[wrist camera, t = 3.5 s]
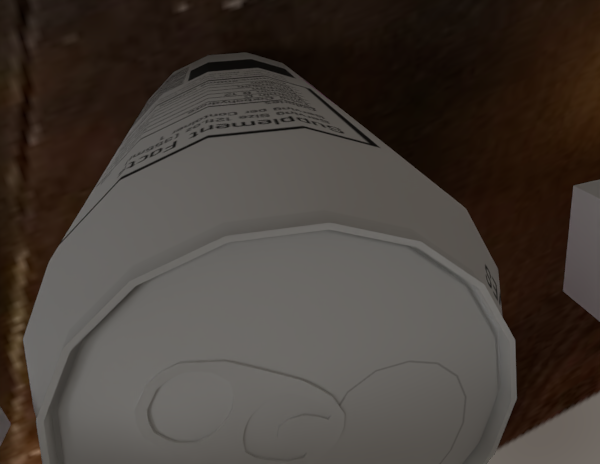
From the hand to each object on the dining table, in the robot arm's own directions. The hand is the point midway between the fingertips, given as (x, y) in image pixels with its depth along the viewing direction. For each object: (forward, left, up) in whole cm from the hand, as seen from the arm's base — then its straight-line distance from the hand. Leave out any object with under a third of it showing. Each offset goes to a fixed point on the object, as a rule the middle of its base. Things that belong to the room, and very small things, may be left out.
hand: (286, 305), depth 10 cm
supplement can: (0, 0, -12) cm, 12 cm away
